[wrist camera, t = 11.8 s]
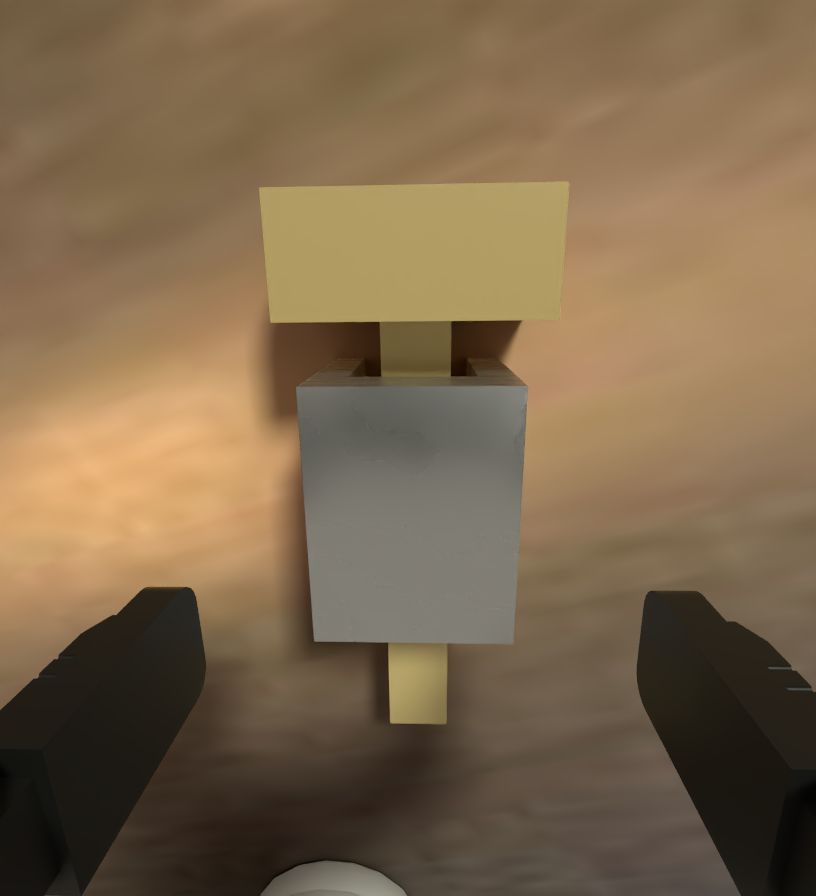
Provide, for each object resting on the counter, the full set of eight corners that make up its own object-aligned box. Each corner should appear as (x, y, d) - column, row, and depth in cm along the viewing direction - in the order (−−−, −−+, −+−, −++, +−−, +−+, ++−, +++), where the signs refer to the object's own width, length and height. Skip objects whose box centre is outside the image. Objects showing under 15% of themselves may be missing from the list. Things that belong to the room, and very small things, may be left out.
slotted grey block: (497, 357, 17) (527, 386, 12) (489, 548, 19) (513, 644, 14) (335, 358, 18) (295, 387, 12) (344, 547, 19) (314, 641, 14)
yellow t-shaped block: (530, 211, 16) (569, 181, 12) (507, 675, 21) (528, 775, 16) (303, 215, 16) (258, 187, 12) (332, 673, 21) (308, 771, 17)
